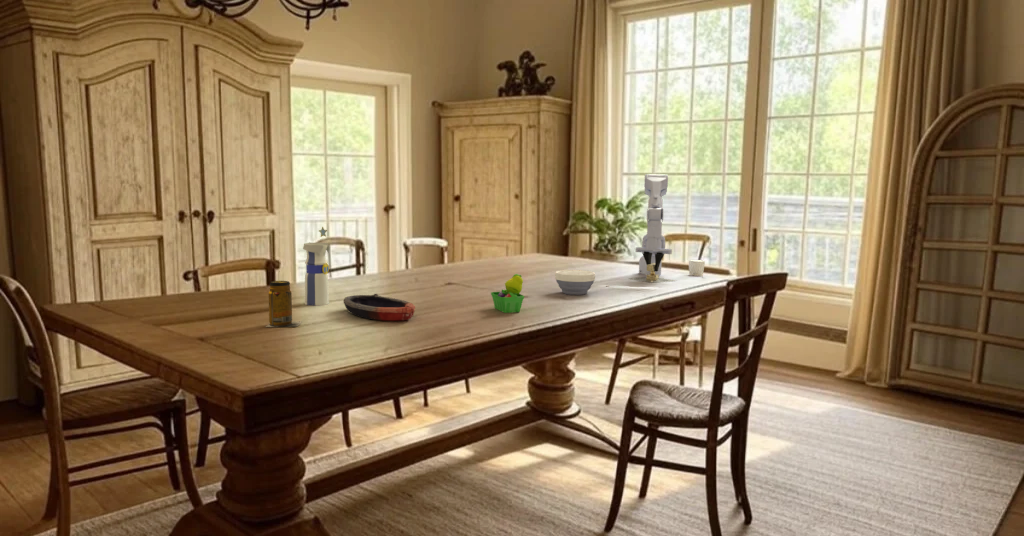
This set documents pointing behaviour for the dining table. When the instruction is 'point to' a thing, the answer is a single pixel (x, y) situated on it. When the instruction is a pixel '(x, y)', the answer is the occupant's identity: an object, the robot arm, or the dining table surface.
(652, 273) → the t key
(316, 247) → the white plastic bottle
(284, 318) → the condiment
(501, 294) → the fruit basket
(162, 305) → the dining table surface
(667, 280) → the cover plate
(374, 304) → the dish
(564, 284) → the bowl
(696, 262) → the beige cylinder
